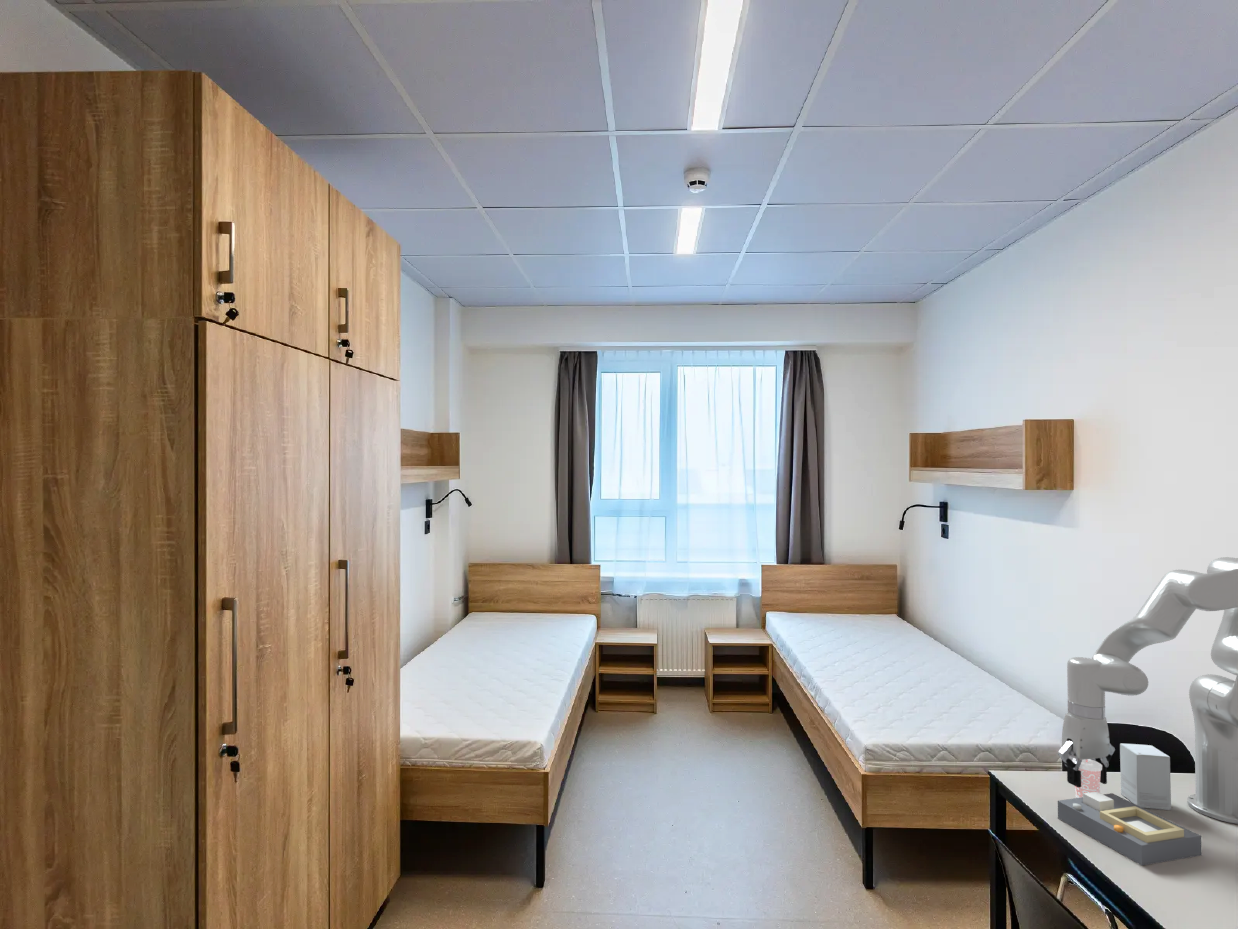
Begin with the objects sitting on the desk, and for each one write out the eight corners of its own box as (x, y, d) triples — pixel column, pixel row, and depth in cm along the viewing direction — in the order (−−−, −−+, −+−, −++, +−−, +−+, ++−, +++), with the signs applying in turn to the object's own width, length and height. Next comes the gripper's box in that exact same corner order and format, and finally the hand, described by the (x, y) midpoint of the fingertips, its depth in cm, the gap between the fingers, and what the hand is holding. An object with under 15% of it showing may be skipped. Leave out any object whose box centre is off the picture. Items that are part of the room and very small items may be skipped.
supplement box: (1172, 811, 154) (1171, 757, 154) (1136, 807, 155) (1136, 754, 155) (1153, 796, 161) (1152, 744, 161) (1119, 793, 162) (1118, 742, 163)
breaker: (1096, 809, 150) (1096, 791, 150) (1113, 817, 146) (1113, 799, 146) (1083, 811, 149) (1082, 793, 149) (1099, 819, 145) (1099, 801, 145)
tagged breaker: (1138, 839, 141) (1138, 820, 141) (1158, 849, 137) (1157, 830, 137) (1124, 841, 140) (1124, 822, 140) (1143, 851, 136) (1143, 832, 136)
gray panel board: (1112, 810, 154) (1112, 786, 154) (1201, 855, 135) (1201, 828, 135) (1057, 818, 150) (1057, 794, 150) (1141, 865, 131) (1141, 838, 132)
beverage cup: (1068, 798, 159) (1067, 740, 160) (1077, 791, 163) (1076, 735, 163) (1097, 808, 154) (1096, 749, 155) (1106, 801, 158) (1105, 743, 159)
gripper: (1099, 702, 165) (1100, 773, 165) (1044, 707, 161) (1044, 780, 160) (1129, 712, 158) (1130, 786, 157) (1071, 718, 154) (1072, 794, 153)
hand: (1086, 782), depth 159 cm, fingers open, 7 cm apart
